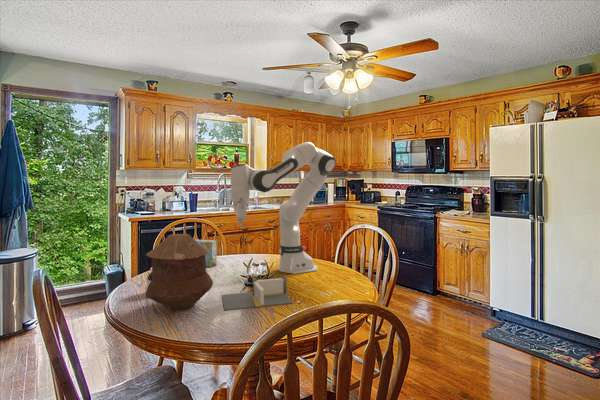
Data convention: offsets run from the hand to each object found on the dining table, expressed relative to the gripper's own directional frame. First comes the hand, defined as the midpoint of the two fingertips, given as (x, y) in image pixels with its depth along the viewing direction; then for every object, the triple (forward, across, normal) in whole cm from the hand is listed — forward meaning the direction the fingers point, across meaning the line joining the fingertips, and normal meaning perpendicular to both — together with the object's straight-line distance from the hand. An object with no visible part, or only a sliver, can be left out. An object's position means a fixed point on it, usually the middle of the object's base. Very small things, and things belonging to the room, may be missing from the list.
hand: (240, 226), depth 171 cm
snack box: (+30, +45, +20) cm, 57 cm away
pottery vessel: (+29, -22, +27) cm, 46 cm away
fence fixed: (+29, -18, -11) cm, 36 cm away
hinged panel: (+28, -25, -5) cm, 38 cm away
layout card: (+29, -22, -4) cm, 37 cm away
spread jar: (+29, +1, +37) cm, 47 cm away
